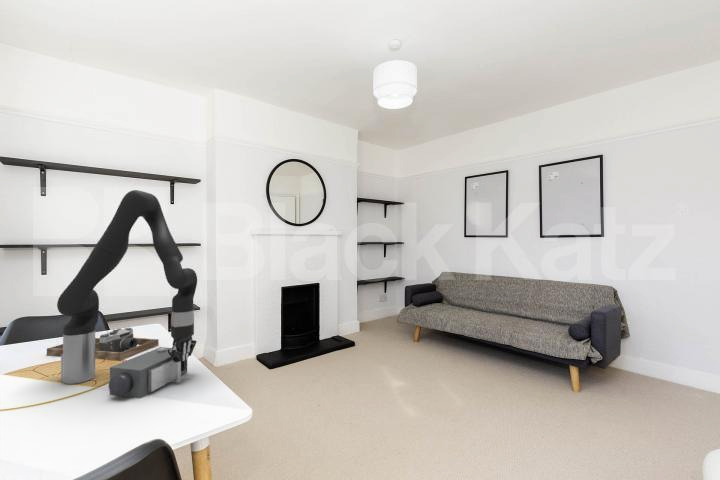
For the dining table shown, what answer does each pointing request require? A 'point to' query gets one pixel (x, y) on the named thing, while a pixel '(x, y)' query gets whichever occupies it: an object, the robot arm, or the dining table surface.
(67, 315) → the robot arm
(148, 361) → the camera housing
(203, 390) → the dining table surface
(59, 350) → the charger corral
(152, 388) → the battery door
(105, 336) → the camera
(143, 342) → the camera corral
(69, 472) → the dining table surface
